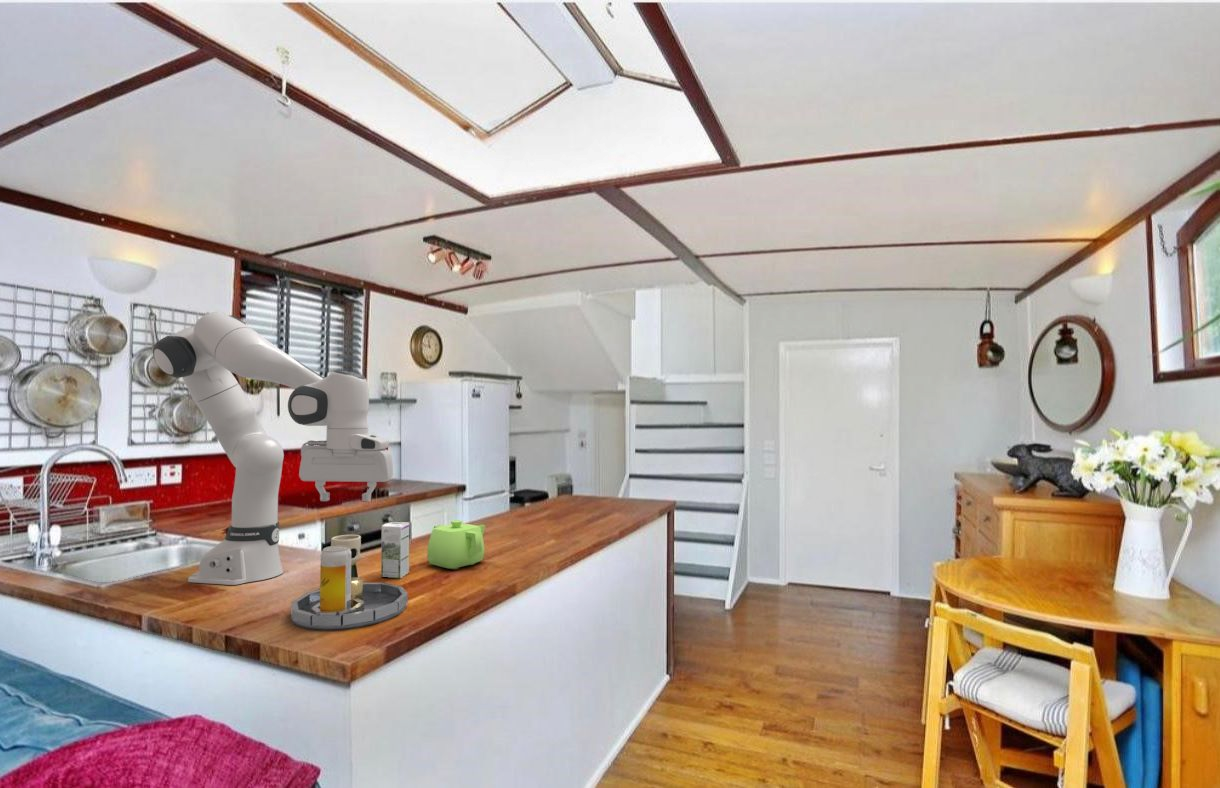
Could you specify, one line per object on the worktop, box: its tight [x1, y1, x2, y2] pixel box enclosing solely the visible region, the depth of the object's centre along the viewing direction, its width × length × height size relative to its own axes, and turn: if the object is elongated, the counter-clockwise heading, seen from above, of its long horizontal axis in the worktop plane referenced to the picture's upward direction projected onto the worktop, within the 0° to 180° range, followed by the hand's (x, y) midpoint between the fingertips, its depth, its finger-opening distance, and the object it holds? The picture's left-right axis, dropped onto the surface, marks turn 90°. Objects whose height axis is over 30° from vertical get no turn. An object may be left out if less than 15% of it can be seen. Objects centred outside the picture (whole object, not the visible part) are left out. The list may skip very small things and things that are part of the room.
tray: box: [290, 576, 409, 631], centre depth 138 cm, size 24×24×7 cm
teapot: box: [426, 519, 486, 570], centre depth 181 cm, size 18×20×13 cm
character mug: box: [330, 534, 362, 578], centre depth 156 cm, size 11×7×13 cm, turn 174°
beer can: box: [319, 545, 351, 611], centre depth 131 cm, size 6×6×15 cm
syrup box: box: [380, 521, 410, 579], centre depth 167 cm, size 6×6×14 cm
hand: (345, 501), depth 138 cm, fingers open, 8 cm apart
